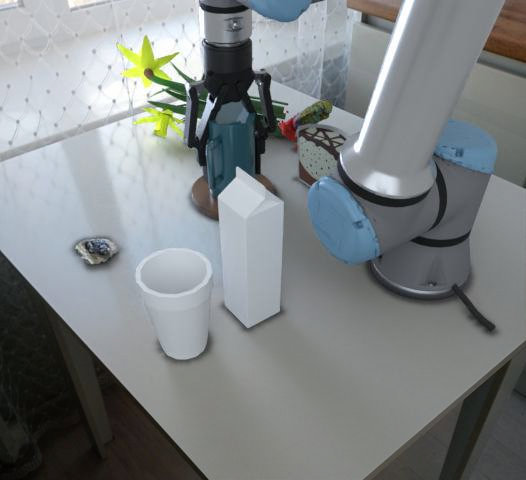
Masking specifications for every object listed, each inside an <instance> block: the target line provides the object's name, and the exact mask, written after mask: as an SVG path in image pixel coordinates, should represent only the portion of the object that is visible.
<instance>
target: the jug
mask: <svg viewBox="0 0 526 480" xmlns="http://www.w3.org/2000/svg"><path fill="white" fill-rule="evenodd" d="M252 100H253V99H252ZM252 100H251V101H252ZM252 104H253V101H252ZM209 132H210V136H209V138H208V141H207V144H206V145H207V146H206V157H207V171H208V184H209V189H210V193H211V194H212V195H213V196H214V197H215V198H217V199H218V196H219V195H220V193H221V192H222V191H223V190H224V189H225V188H226V187H227V186H228V185H229V184H230V183H231V182H232V181H233V180H234V179H235V178H236V167H239V168H241V169H242V170H243V171H245V172H246V173H247V174H249V175H250V176H251V177H253V178H254V179H255V180H256V127H255V113H248V112H247V111H246V109H245V108H244V107H243V105H242V103H241V101H240V102H237V103H235V102H230V103H228V104H225V105H222V107H221V110H220V111H219V112H218V114H217V116H216V119H215V120H211V121H209Z"/></svg>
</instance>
